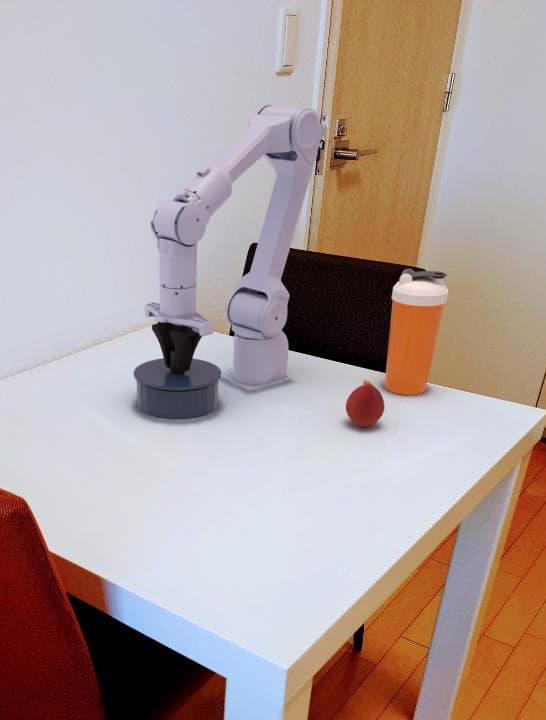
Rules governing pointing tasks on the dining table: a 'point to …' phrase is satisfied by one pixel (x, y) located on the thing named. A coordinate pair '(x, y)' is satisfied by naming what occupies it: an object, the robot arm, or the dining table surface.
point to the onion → (365, 405)
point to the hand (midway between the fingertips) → (177, 368)
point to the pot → (177, 402)
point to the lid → (177, 374)
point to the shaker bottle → (414, 330)
